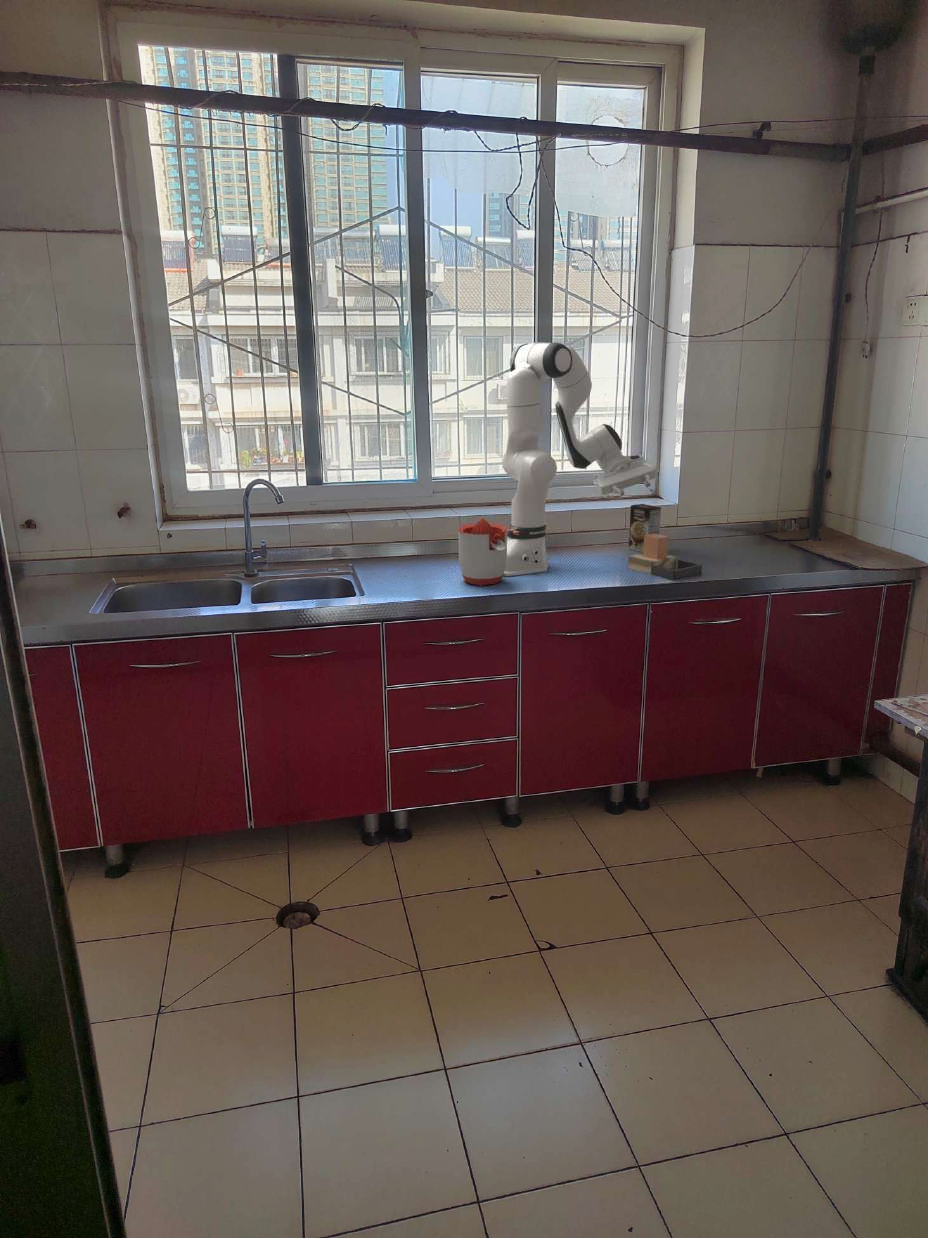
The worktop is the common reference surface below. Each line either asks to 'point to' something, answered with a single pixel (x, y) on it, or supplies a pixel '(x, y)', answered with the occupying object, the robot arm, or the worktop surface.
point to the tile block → (655, 546)
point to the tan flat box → (650, 562)
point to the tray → (677, 570)
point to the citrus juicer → (482, 552)
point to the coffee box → (643, 524)
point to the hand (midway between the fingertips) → (635, 489)
